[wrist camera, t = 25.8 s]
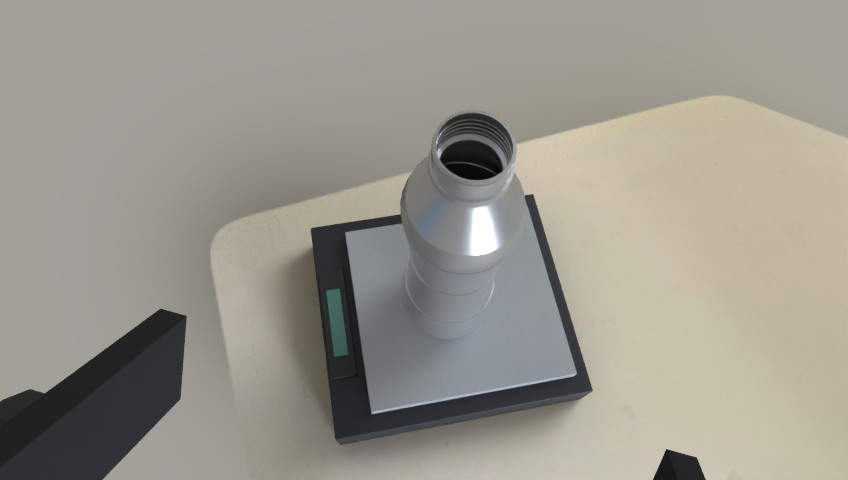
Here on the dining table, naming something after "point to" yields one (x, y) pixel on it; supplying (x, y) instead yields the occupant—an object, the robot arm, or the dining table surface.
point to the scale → (434, 357)
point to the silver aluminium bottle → (460, 223)
